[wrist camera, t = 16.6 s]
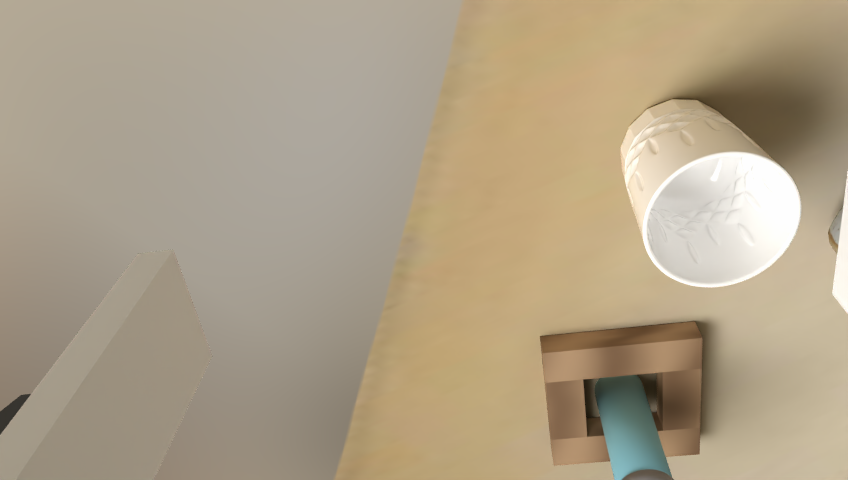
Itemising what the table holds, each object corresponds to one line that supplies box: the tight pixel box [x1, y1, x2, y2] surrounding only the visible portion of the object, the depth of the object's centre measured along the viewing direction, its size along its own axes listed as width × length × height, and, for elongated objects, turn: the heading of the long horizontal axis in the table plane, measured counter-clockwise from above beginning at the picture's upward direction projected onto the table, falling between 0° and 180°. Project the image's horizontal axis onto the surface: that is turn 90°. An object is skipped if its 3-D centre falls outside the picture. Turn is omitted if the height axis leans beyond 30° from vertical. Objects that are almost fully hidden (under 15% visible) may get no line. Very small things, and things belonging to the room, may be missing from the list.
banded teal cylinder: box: [594, 375, 674, 480], centre depth 51 cm, size 4×4×12 cm
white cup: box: [620, 99, 801, 287], centre depth 43 cm, size 8×8×10 cm
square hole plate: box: [540, 321, 703, 466], centre depth 56 cm, size 11×11×2 cm
